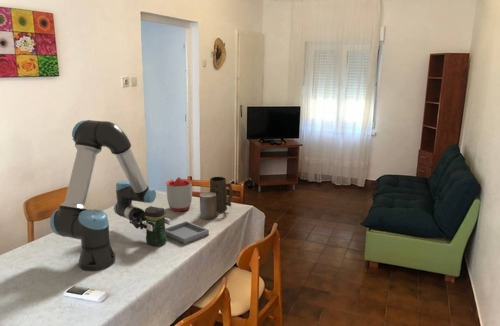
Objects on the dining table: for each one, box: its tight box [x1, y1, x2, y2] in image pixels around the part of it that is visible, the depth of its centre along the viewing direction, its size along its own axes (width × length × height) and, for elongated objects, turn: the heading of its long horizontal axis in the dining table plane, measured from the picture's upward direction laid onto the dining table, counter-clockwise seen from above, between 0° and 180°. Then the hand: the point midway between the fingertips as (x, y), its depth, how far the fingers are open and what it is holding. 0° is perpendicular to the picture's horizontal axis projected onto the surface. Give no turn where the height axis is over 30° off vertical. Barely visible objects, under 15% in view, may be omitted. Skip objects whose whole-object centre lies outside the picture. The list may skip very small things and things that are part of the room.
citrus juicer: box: [165, 177, 193, 212], centre depth 245 cm, size 16×17×20 cm
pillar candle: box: [199, 191, 218, 221], centre depth 232 cm, size 10×10×15 cm
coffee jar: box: [144, 205, 168, 247], centre depth 196 cm, size 10×8×19 cm
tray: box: [165, 220, 210, 246], centre depth 207 cm, size 16×18×3 cm
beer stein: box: [209, 176, 234, 213], centre depth 244 cm, size 15×11×20 cm
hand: (160, 225), depth 193 cm, fingers open, 10 cm apart
